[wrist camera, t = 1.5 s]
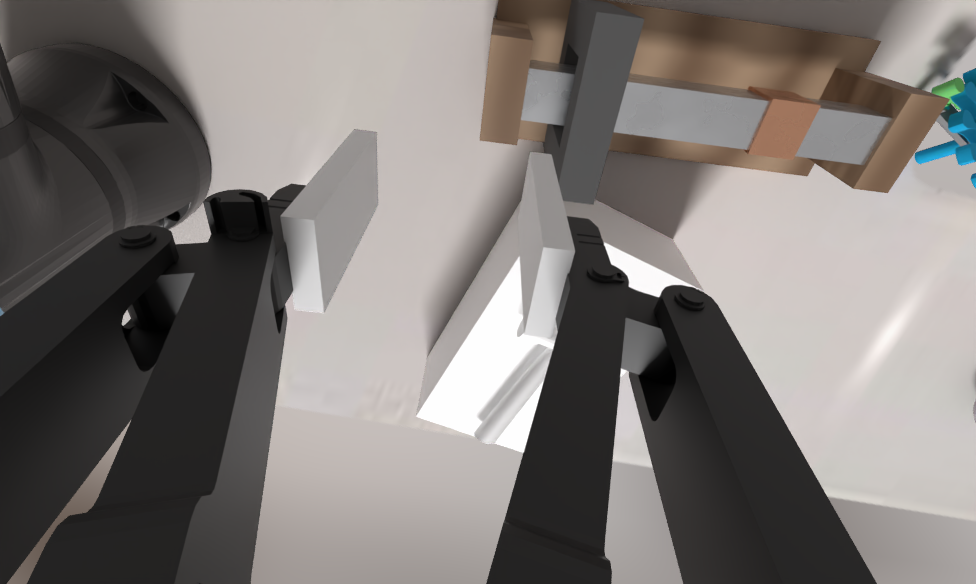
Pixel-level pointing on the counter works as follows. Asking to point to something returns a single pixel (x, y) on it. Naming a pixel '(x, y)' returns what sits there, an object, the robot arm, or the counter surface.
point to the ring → (592, 93)
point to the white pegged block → (500, 330)
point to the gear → (956, 122)
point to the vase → (974, 410)
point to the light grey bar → (719, 115)
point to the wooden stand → (716, 82)
